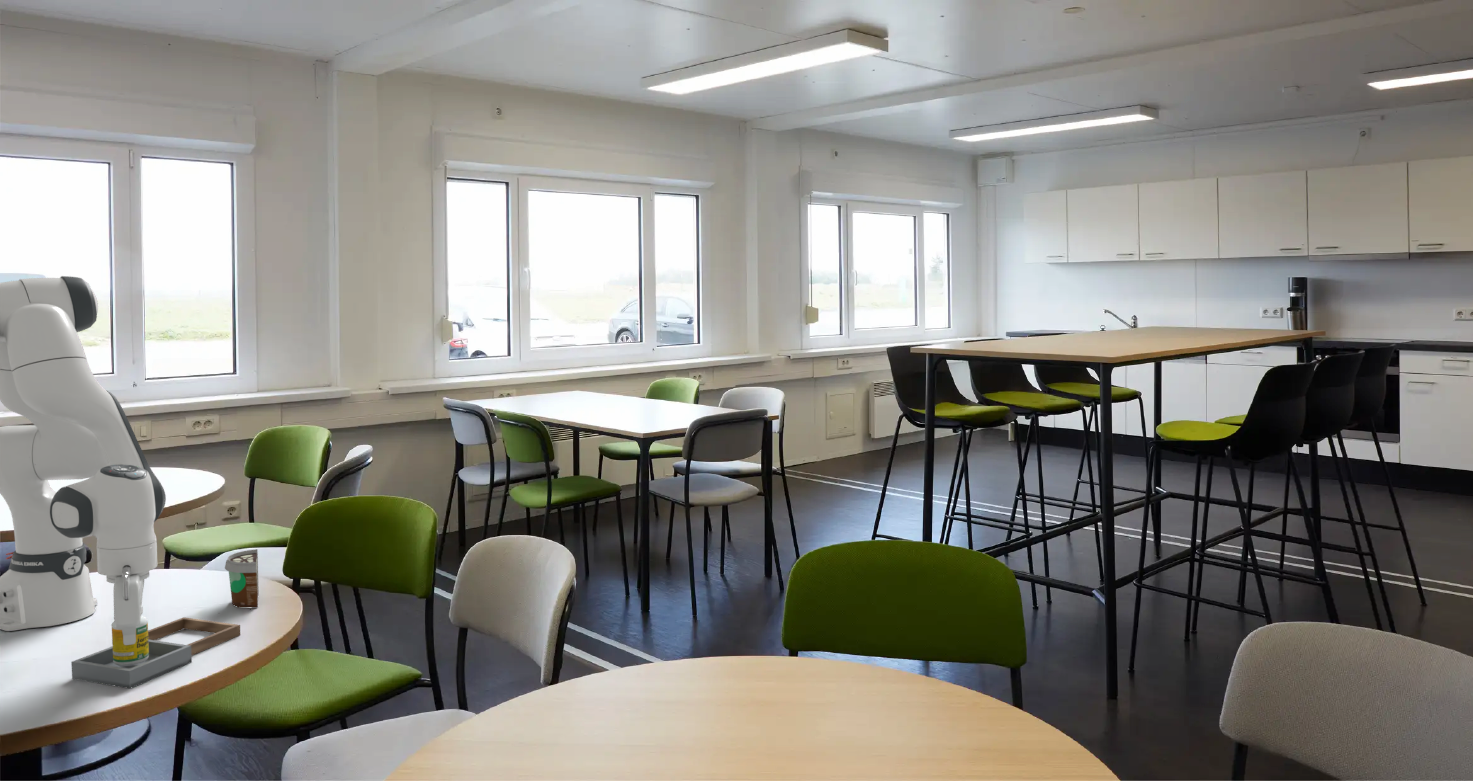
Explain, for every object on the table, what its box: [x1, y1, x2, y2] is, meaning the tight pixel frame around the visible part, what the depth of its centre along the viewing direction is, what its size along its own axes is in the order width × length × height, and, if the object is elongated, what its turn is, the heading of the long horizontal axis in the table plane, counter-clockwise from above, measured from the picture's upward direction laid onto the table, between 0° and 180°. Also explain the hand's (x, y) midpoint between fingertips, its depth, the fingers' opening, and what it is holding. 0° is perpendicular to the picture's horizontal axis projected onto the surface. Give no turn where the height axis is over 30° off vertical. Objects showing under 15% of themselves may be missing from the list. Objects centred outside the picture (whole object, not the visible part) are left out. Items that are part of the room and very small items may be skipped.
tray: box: [71, 639, 193, 689], centre depth 171 cm, size 13×13×3 cm
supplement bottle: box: [111, 605, 149, 666], centre depth 170 cm, size 5×5×10 cm
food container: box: [224, 548, 260, 608], centre depth 208 cm, size 12×6×10 cm, turn 25°
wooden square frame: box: [148, 616, 241, 656], centre depth 185 cm, size 14×14×2 cm
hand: (130, 637), depth 170 cm, fingers closed on supplement bottle, 5 cm apart
